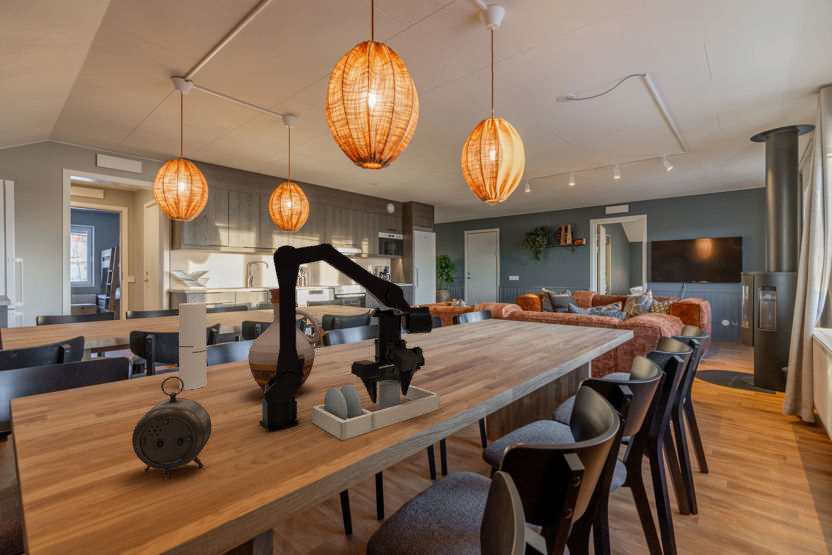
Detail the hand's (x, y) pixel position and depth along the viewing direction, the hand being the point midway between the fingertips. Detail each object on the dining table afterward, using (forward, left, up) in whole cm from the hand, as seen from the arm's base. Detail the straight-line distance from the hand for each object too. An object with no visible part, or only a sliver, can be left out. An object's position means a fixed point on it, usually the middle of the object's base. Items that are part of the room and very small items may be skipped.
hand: (389, 399), depth 95 cm
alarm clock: (-45, +1, -3) cm, 46 cm away
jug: (-12, +32, -3) cm, 35 cm away
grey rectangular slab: (0, 0, -3) cm, 3 cm away
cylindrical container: (-30, +57, -3) cm, 65 cm away
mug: (+19, +23, -3) cm, 30 cm away
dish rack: (-3, -1, -3) cm, 5 cm away
